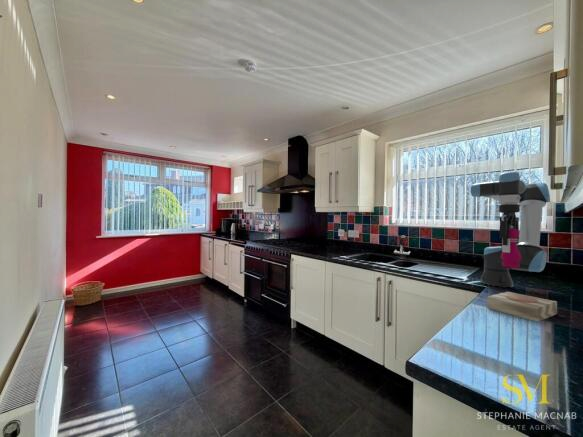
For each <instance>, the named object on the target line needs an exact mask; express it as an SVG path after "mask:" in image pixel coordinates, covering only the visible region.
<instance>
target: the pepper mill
mask: <svg viewBox="0 0 583 437" xmlns="http://www.w3.org/2000/svg"><path fill="white" fill-rule="evenodd" d="M512 228H513V226H512V225H511V226H510V233H509V239H510V253H508V252H502V254H501V259H502V260H503V261H504V262H502V266H504V267H512V268H520V264H519V263H518V262H519V261H520V260H521V255H520V253H519V251H518V249H517V244H518V243H519V239H517V237H519V232H520V230H519V231H518V230H516V229H512Z"/></svg>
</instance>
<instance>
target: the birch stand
mask: <svg viewBox="0 0 583 437" xmlns="http://www.w3.org/2000/svg"><path fill="white" fill-rule="evenodd" d="M486 305H487V306H486V308H487V309H489V310H493V311H497V312H500V313H503V314H504V313H505V314H507V315H512V316H515V317H519V318H524V319H527V320H530V321H535V322H541V321H543V320H546V319H548V318H551V317H553V316H555V315H556V316H557V314H558V301H556V300H550V299H544V298H541V297H540V298H539V297H535V296H531V295H530V296H529V295H526V294H521V293H516V292H511V291H505V292H500V293H496V294H492V295H488V296H487V298H486Z"/></svg>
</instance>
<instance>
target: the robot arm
mask: <svg viewBox="0 0 583 437" xmlns="http://www.w3.org/2000/svg"><path fill="white" fill-rule="evenodd" d="M520 179H521V177H520V173H519V172H518V171H509V172H502V173H500V174H499V176H498V180H497V181H489V182H488V181H487V182H478V183H477V182H476V183H474V184H472V185H471V186H470V195H471V196H472V197H473V198H475V197H476V198H480V197H481V198H482V197H485V198H487V199H492V200H494V201H495V202H498V204H499V206H498V213H501V214H502V216H499V239H502V240H501V244H502V246H487V247H485V248H484V249H483V250H484V251H483V272H482V275H481V277H480V283H481V284H482V283H483V285H485V284H487V285H486V286H490V285H492V286H491V287H495V286H498V287H497V288H506V287H510V288H513V287H514V281H513V279H512V277H511V274H510V270H516V271H524V272H530V273H532V272H534V273H535V272H536V273H540V272H542V271H544V269H545V267H546V263H547V259H548V253H547V251H544V248H543V247H542V246H541V245H540V241H541V230H542V228H541V227H542V226H541V224H542V215H543V214H542V211H543V208H544V207H545V206H546V205H547V203H549V202H551V195H550V190H549V186H548V184H547V183H545V182H538V183H537V182H534V183H527V184H526V183H525V182H524V181H523V180H520ZM520 211H521V214H520V218H519V216H518V217H517V215H516V213H520ZM519 220H520V221H519ZM519 223H520V224H519ZM511 225H512V226H513V228H512V229H516V230H518V231H519V237H517V239H518V242H517V249H518V251H519V253H520V255H521V260H520V261H519V262H518V263H519V264H520V268H512V267H504V266H502V262H504V261H503V260H502V259H501V254H502V252H508V253H510V239H509V233H510V226H511Z"/></svg>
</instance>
